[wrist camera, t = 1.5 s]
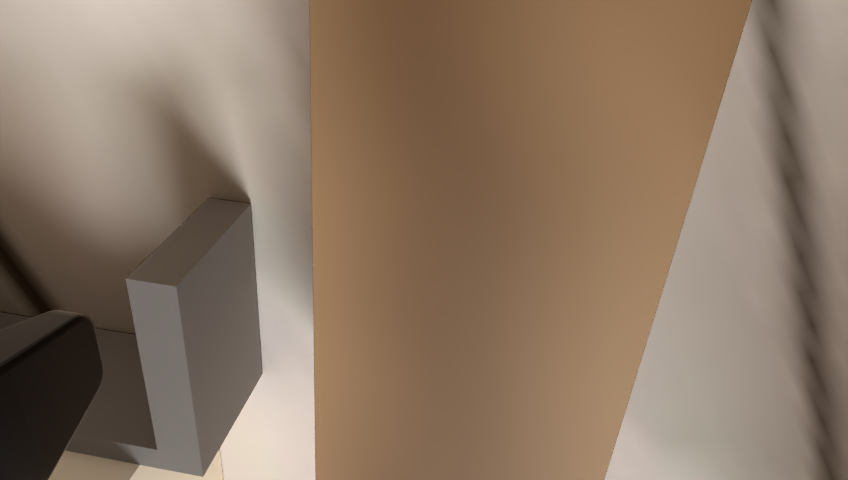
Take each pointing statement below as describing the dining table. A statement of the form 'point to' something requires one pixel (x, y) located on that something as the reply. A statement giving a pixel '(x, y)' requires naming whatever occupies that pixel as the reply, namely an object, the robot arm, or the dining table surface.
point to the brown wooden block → (497, 223)
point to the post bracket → (175, 357)
